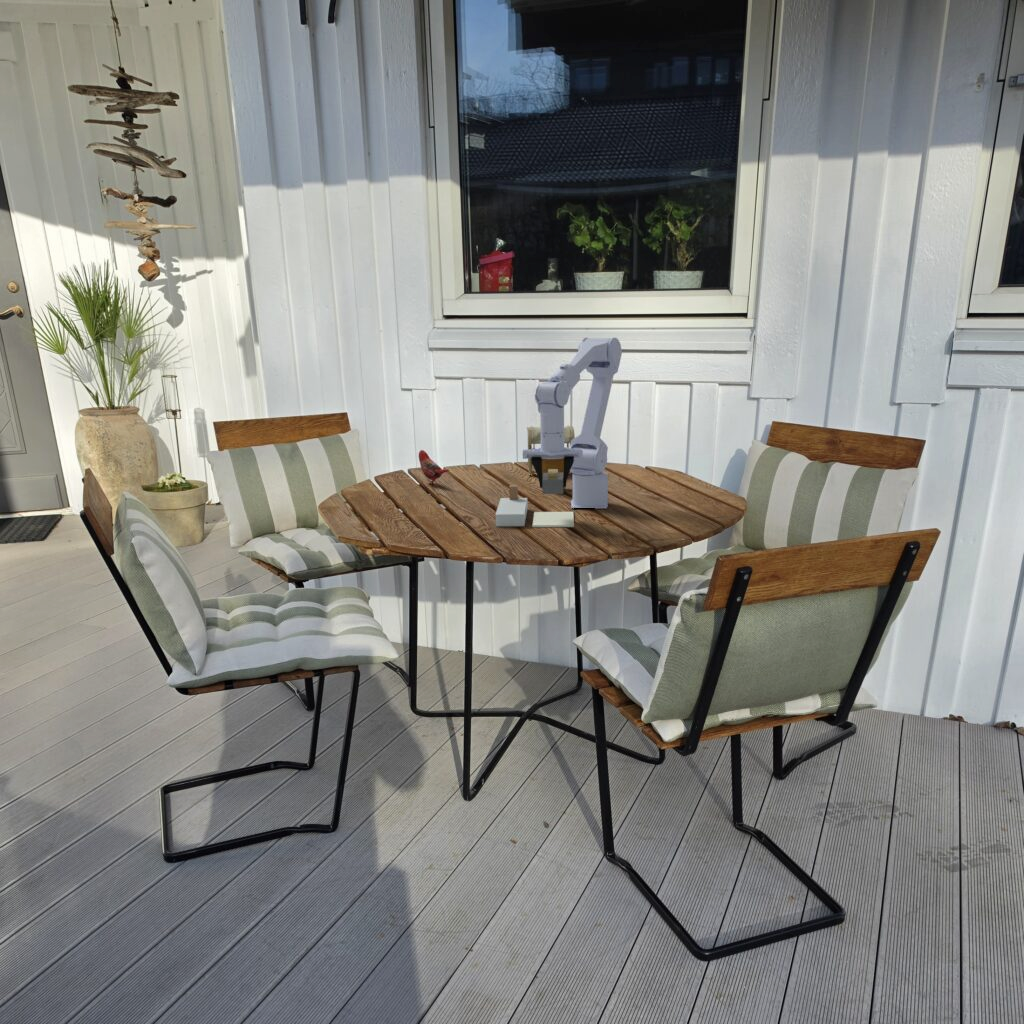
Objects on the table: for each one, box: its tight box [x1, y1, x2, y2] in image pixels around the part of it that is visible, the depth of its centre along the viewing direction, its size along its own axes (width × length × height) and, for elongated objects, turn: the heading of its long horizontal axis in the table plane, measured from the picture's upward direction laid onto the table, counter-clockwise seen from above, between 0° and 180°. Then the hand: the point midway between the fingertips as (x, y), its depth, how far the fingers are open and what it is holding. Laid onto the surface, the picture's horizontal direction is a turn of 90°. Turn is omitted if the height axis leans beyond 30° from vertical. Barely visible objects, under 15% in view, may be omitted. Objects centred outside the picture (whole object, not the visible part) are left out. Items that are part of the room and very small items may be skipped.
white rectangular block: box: [495, 484, 529, 527], centre depth 189 cm, size 7×16×6 cm, turn 176°
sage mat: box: [531, 511, 575, 528], centre depth 187 cm, size 10×12×1 cm
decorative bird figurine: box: [418, 449, 450, 485], centre depth 226 cm, size 3×18×10 cm, turn 37°
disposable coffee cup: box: [538, 446, 567, 490], centre depth 216 cm, size 10×10×12 cm
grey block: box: [541, 469, 564, 495], centre depth 184 cm, size 5×8×4 cm, turn 176°
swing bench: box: [526, 425, 576, 475], centre depth 238 cm, size 15×10×15 cm, turn 91°
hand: (553, 486), depth 184 cm, fingers closed on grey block, 5 cm apart
